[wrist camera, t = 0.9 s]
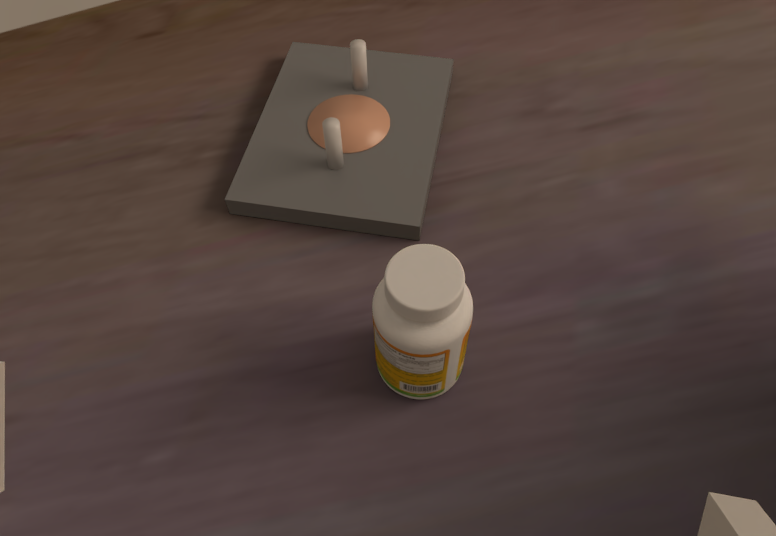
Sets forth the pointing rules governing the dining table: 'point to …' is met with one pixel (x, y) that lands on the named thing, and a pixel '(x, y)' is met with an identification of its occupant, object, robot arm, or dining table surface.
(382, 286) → the supplement bottle
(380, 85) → the pin tray
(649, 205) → the dining table surface
